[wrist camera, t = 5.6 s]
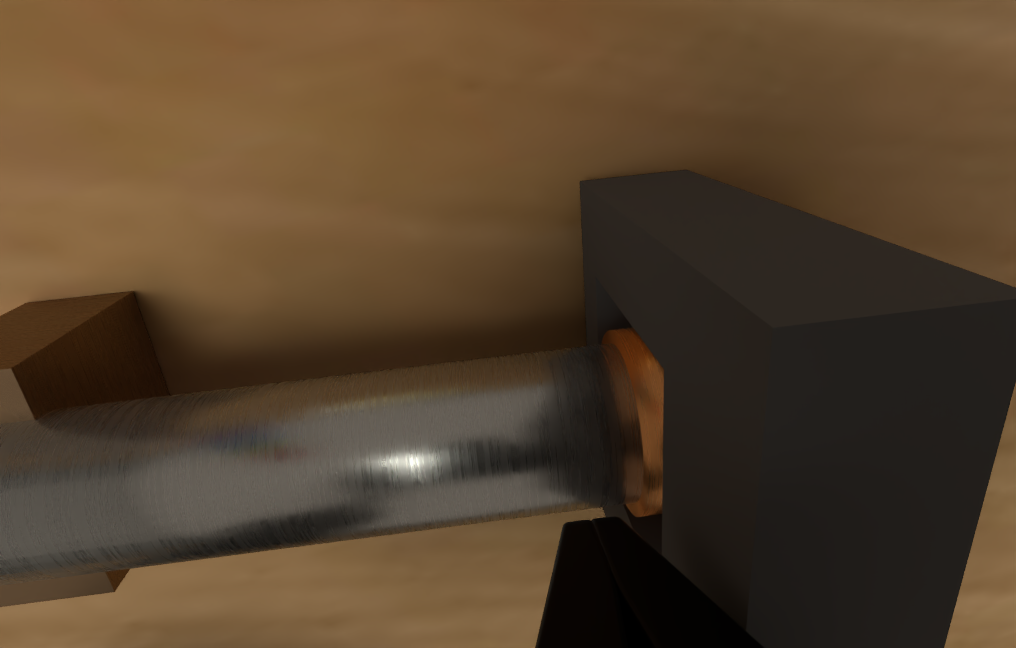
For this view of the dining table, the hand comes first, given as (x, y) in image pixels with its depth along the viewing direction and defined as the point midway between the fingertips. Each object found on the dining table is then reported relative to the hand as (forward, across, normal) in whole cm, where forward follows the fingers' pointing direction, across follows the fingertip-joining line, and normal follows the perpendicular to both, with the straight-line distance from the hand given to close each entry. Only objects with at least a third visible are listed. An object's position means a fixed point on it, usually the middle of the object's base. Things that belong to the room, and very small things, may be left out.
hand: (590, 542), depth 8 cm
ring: (+7, -2, 0) cm, 7 cm away
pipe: (+7, +2, 0) cm, 7 cm away
